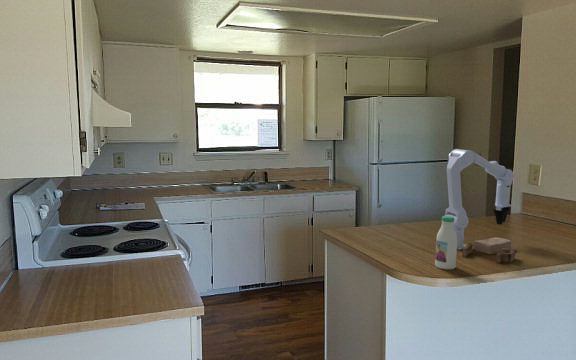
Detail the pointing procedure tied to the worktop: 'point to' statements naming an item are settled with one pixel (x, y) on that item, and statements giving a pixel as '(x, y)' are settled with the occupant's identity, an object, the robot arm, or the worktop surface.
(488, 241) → the brick
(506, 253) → the tunnel
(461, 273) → the worktop surface
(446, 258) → the milk bottle
